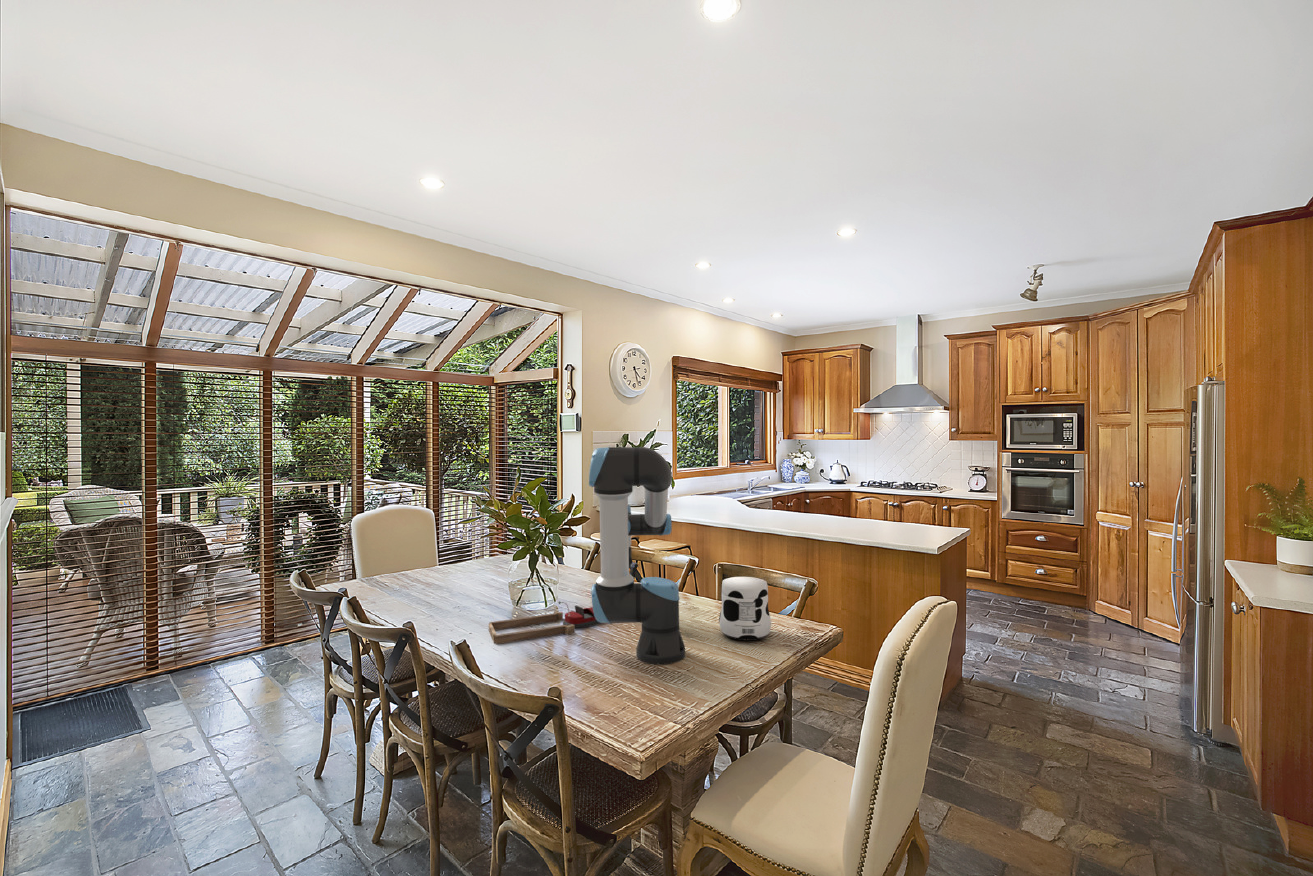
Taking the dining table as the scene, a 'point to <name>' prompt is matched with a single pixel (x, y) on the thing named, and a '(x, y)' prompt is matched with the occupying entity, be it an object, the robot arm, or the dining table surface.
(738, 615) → the milk container
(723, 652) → the dining table surface
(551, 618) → the cradle
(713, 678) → the dining table surface
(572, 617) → the bumper car
